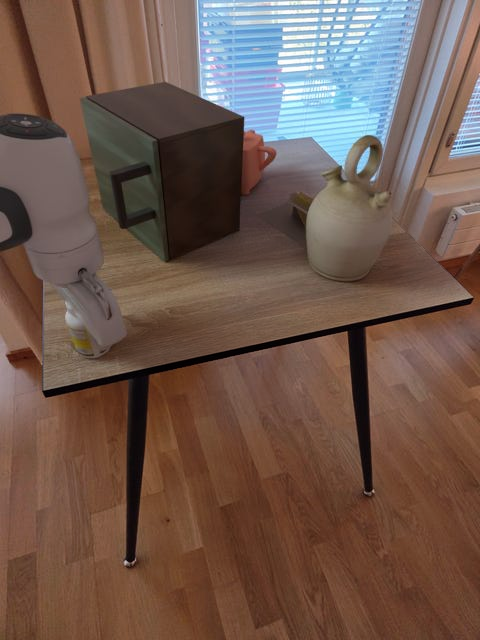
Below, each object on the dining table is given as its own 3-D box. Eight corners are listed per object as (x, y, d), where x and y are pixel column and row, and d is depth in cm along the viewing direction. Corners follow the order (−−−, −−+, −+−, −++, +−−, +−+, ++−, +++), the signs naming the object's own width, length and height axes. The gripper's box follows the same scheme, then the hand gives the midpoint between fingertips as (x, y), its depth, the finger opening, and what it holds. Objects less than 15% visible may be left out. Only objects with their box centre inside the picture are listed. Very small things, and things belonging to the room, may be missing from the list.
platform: (309, 251, 86) (314, 223, 82) (255, 213, 96) (257, 187, 92) (348, 234, 92) (355, 207, 87) (294, 200, 102) (297, 174, 97)
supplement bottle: (108, 330, 68) (96, 283, 61) (115, 353, 64) (103, 307, 58) (73, 339, 66) (57, 292, 59) (79, 363, 63) (62, 317, 56)
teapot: (250, 167, 114) (253, 116, 105) (279, 192, 104) (284, 139, 95) (193, 177, 109) (191, 124, 99) (218, 205, 99) (218, 149, 89)
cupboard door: (134, 275, 78) (112, 151, 62) (74, 218, 92) (44, 104, 75) (169, 260, 82) (157, 140, 66) (107, 207, 95) (84, 97, 79)
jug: (287, 249, 87) (305, 123, 69) (351, 237, 91) (383, 116, 73) (322, 295, 76) (354, 161, 59) (392, 278, 81) (441, 150, 63)
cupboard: (170, 260, 82) (158, 138, 66) (108, 207, 96) (85, 96, 79) (239, 230, 91) (244, 116, 75) (173, 186, 104) (165, 81, 88)
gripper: (129, 283, 49) (144, 359, 59) (57, 212, 60) (80, 286, 70) (79, 305, 46) (103, 382, 56) (12, 226, 57) (42, 301, 66)
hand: (90, 328), depth 63 cm, fingers open, 8 cm apart
